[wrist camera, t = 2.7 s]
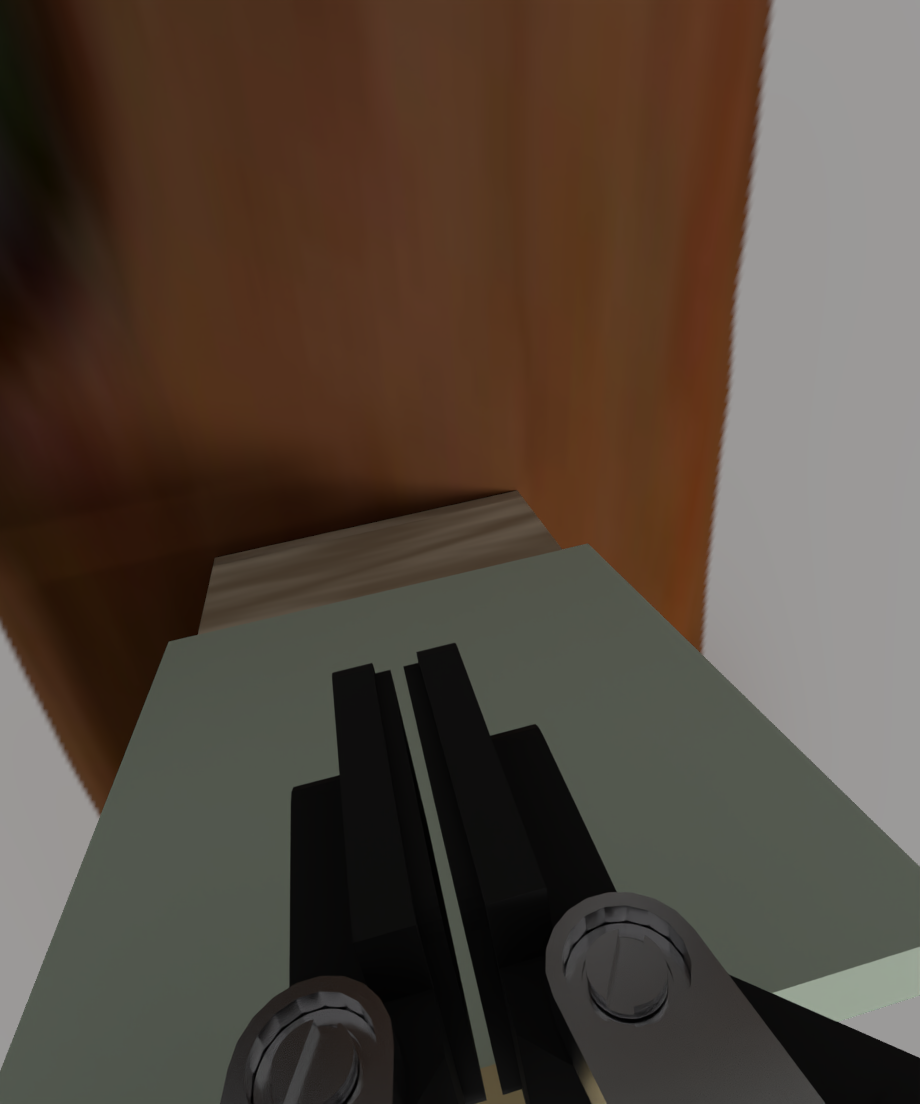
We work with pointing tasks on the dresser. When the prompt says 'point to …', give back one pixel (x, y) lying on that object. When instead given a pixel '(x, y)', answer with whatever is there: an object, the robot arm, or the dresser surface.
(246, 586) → the box
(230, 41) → the dresser surface
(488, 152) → the dresser surface
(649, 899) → the robot arm
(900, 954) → the lid
